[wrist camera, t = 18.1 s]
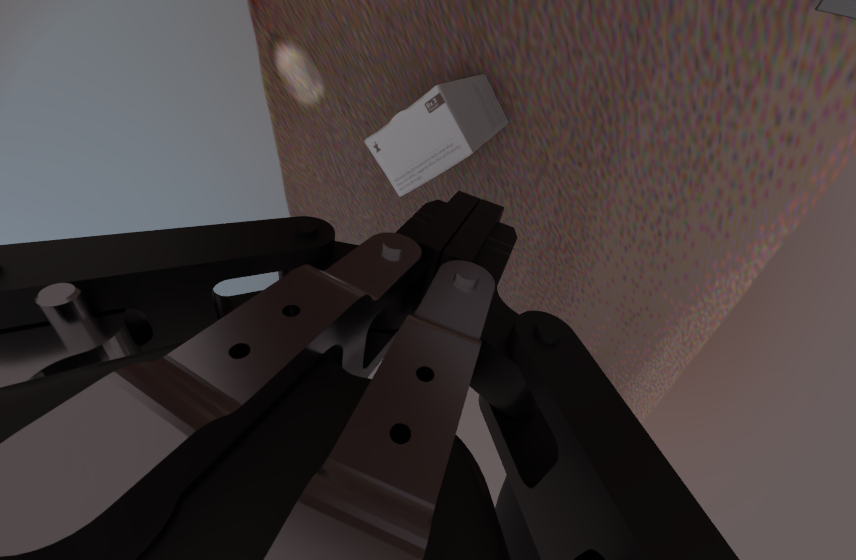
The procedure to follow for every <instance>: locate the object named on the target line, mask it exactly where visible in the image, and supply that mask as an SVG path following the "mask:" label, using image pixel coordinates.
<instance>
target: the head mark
mask: <svg viewBox="0 0 856 560" xmlns="http://www.w3.org/2000/svg"><path fill="white" fill-rule="evenodd" d="M815 10H820V11H824V12H829V13H834V14H838V15H843V16H847V17H852V18H856V0H822V1H821V2H820V4H819V5H818V6H817V8H816V9H815Z"/></svg>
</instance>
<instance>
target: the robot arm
mask: <svg viewBox="0 0 856 560" xmlns="http://www.w3.org/2000/svg"><path fill="white" fill-rule="evenodd" d="M503 210H504V207H502V206H500V205H497V204H494V203H491V202H489V201H486V200H483V199H482V200H481V199H480V198H477V197H475V196H472V195H469V194H466V193H464V192H461V191H458V192H457V193H456V194H455V195H454V196H453V197H452V198H451V199H450V201H449V202H448V203H446V202H443V201H441V200H435V201H432V202H429V203H426V204H425V205H424V206H422V207H421V208H420V209H419V210H418V212H416V213H415V214H414V215H413V216H412V218H410V219H409V220H408V221H407V222H406V223H405V224H404V225H403V226H402V227H401V228H400V229H399V230H398V231H397V232H396V233H380V234H376V235H373V236H372V237H370V238H369V239H367V240H366V241H365V242H363V243H362V244H361V245H354V244H349V243H343V242H338V241H335V230H334V228H333V227H332V225H330V224H329V223H328V222H326V221H324V220H322V219H319V218H315V217H308V216H299V217H289V218H279V219H268V220H257V221H247V222H238V223H237V222H236V223H226V224H216V225H205V226H196V227H185V228H174V229H164V230H154V231H143V232H133V233H122V234H112V235H101V236H91V237H81V238H70V239H60V240H50V241H39V242H29V243H18V244H9V245H0V560H739V559H738V557H737V556H736V554H735V553H734V552H733V550H732V549H731V547H730V546H729V545H728V543H727V542H726V541H725V539H724V538H723V537H722V535H721V534H720V532H719V531H718V530H717V528H716V527H715V525H714V524H713V523H712V521H711V520H710V519H709V517H708V516H707V514H706V513H705V512H704V510H703V509H702V507H701V506H700V505H699V503H698V502H697V501H696V499H695V498H694V496H693V495H692V494H691V492H690V491H689V490H688V488H687V487H686V485H685V484H684V483H683V481H682V480H681V479H680V477H679V476H678V474H677V473H676V472H675V470H674V469H673V468H672V466H671V465H670V463H669V462H668V461H667V459H666V458H665V457H664V455H663V454H662V452H661V451H660V450H659V448H658V447H657V446H656V444H655V443H654V441H653V440H652V439H651V437H650V436H649V434H648V433H647V432H646V430H645V429H644V428H643V426H642V425H641V423H640V422H639V421H638V419H637V418H636V417H635V415H634V414H633V412H632V411H631V410H630V408H629V407H628V405H627V404H626V403H625V401H624V400H623V399H622V397H621V396H620V394H619V393H618V392H617V390H616V389H615V388H614V386H613V385H612V383H611V382H610V381H609V379H608V378H607V377H606V375H605V374H604V372H603V371H602V370H601V368H600V367H599V365H598V364H597V363H596V361H595V360H594V359H593V357H592V356H591V354H590V353H589V352H588V350H587V349H586V348H585V346H584V345H583V343H582V342H581V341H580V339H579V338H578V337H577V335H576V334H575V332H574V331H573V330H572V329H571V328H570V327H569V326H568V325H567V324H566V323H565V322H564V321H562V320H561V319H559V318H558V317H556V316H554V315H551V314H549V313H546V312H542V311H527V312H524V313H522V314H520V315H519V314H517V313H516V312H515V311H513V310H512V309H511V308H509V307H508V306H507V305H506V304H505V303H504V302H503V301H502V299H501V298H500V296H499V294H498V291H497V285H498V283H499V281H500V278H501V276H502V274H503V271H504V269H505V266H506V264H507V262H508V259H509V257H510V254H511V252H512V249H513V247H514V245H515V242H516V240H517V235H516V232H515V229H514V228H513V227H511V226H508V225H505V224H503V223H500V219H501V216H502V213H503ZM276 271H278V272H279V280H278V281H277V282H275V283H274V284H272V285H271V286H269V287H268V288H266V289H265V290H262V291H256V292H250V293H245V294H240V295H235V296H228V297H227V296H220V295H218V294H216V293H214V291H213V288H214V286H215V285H216V284H218V283H219V282H221V281H224V280H228V279H232V278H240V277H246V276H252V275H258V274H264V273H270V272H276ZM382 359H383V360H382ZM381 360H382V362H381ZM380 362H381V364H380V366H379V367H378V369H377V371H376V373H375V375H374V376H373V378H372V379H368V376H369V375H370V374H371V373H372V371H373V370H374V369H375V368H376V367H377V365H378V364H379V363H380ZM469 386H470V387H471V388H473V389H474V390H475V391H476V392H477V393H478V394H480V395H479V405H480V409H481V411H482V413H483V417H484V419H485V421H486V424H487V426H488V429H489V431H490V434H491V436H492V439H493V441H494V444H495V446H496V449H497V451H498V454H499V456H500V459H501V461H502V464H503V466H504V469H505V471H506V474H507V476H506V478H505V481H504V483H503V486H502V488H501V491H500V494H499V497H498V500H497V504H496V508H494V504H493V501H492V499H491V495H490V492H489V489H488V486H487V483H486V481H485V478H484V476H483V474H482V472H481V469H480V467H479V465H478V463H477V462H476V460H475V459H474V457H473V455H472V453H471V452H470V451H469V450H468V448H467V447H466V445H465V444H464V443H463V442H462V440H461V439H460V438H459V437H458V436H457V435H456V431H457V427H458V424H459V420H460V417H461V413H462V409H463V406H464V403H465V399H466V396H467V392H468V389H469Z"/></svg>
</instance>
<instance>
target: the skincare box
mask: <svg viewBox="0 0 856 560" xmlns="http://www.w3.org/2000/svg"><path fill="white" fill-rule="evenodd" d="M508 124H509V121H508V119H507V117H506V115H505V113H504V111H503V109H502V107H501V105H500V103H499V101H498V99H497V97H496V95H495V93H494V91H493V89H492V87H491V85H490V83H489V81H488V79H487V77H486V75H485V74H484V73H483V74H480V75H476V76H472V77H468V78H464V79H459V80H455V81H451V82H446V83H443V84H438V85H436V86H434V87H433V88H432V89H431V90H430V91H428V92H427V93H426V94H425V95H423V96H422V97H421V98H420V99H419V100H417V101H416V102H415V103H413V104H412V105H411V106H410V107H408V108H407V109H406V110H404V111H401V112H399V113H398V114H396V115H395V116H394V117H393V118H392V120H391V121H390V122H389V123H388V124H387V125H385V126H384V127H383V128H381V129H380V130H379V131H377V132H376V133H374V134H373V135H371V136H369V137H368V138H366V139H365V141H364V142H365V144H366V145H367V147H368V148H369V149H370V151H371V153H372V154H373V156H374V157H375V159H376V161H377V162H378V164H379V165H380V167H381V168H382V170H383V171H384V173H385V174H386V176H387V177H388V179H389V181H390V182H391V184H392V186H393V187H394V189H395V191H396V192H397V194H398V195H399V196H400V197H401V196H403V195H405V194H407V193H408V192H410V191H412V190H414V189H416V188H417V187H419V186H421V185H423V184H424V183H426V182H428V181H429V180H431V179H433V178H434V177H436V176H438V175H439V174H441V173H443V172H444V171H446V170H448V169H449V168H451V167H453V166H454V165H456V164H458V163H459V162H461V161H462V160H464V159H465V158H467V157H469V156H470V155H471V154H473V153H474V152H475V151H476V150H477V149H478V148H480V147H481V146H482V145H483V144H484V143H485V142H487V141H488V140H489V139H491V138H492V137H493V136H494V135H496V134H497V133H498V132H499V131H500V130H502V129H503V128H504V127H505V126H506V125H508Z"/></svg>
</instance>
